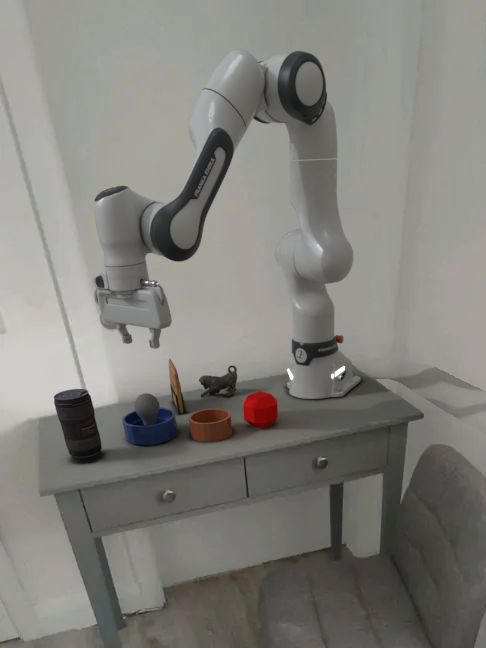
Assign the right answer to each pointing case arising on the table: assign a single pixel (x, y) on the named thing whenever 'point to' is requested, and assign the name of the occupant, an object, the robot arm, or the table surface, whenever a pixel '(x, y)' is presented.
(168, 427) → the blue bowl
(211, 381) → the dog figurine
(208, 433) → the terracotta dish
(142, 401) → the light bulb
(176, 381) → the ammunition clip
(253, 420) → the ball
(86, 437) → the camera lens
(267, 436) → the table surface
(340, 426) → the table surface
